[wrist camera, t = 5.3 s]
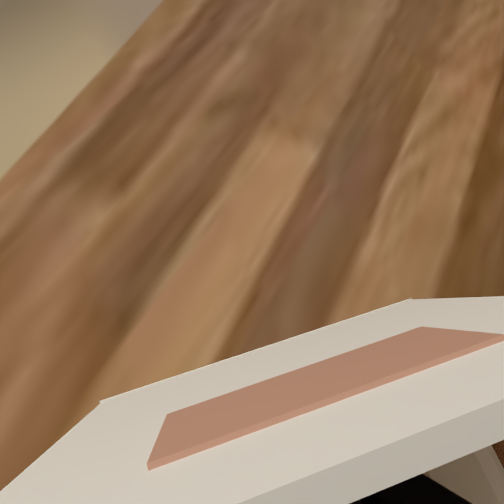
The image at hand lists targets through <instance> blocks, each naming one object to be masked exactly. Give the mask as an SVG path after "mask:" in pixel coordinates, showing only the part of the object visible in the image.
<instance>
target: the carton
mask: <svg viewBox="0 0 504 504" xmlns="http://www.w3.org/2000/svg"><path fill="white" fill-rule="evenodd" d="M410 300H412V298H410V299H407V300H404V301H401V302H398V303H395V304H392V305H389V306H386V307H383V308H380V309H377V310H374V311H371V312H368V313H365V314H362V315H359V316H356V317H353V318H350V319H347V320H344V321H341V322H338V323H335V324H332V325H329V326H325V327H322V328H319V329H316V330H313V331H310V332H307V333H304V334H301V335H298V336H295V337H292V338H289V339H286V340H283V341H280V342H277V343H274V344H271V345H268V346H265V347H262V348H259V349H256V350H253V351H250V352H247V353H244V354H241V355H238V356H235V357H231V358H228V359H225V360H222V361H219V362H216V363H213V364H210V365H207V366H204V367H201V368H198V369H195V370H192V371H189V372H186V373H183V374H180V375H177V376H174V377H171V378H168V379H165V380H162V381H159V382H156V383H153V384H150V385H147V386H144V387H141V388H137V389H134V390H131V391H128V392H125V393H122V394H119V395H116V396H113V397H110V398H107V399H104V400H101V401H99V402H100V404H101V403H102V402H104V401H107V400H110V399H113V398H116V397H119V396H122V395H126V394H129V393H132V392H135V391H138V390H141V389H144V388H147V387H150V386H153V385H156V384H159V383H162V382H165V381H168V380H171V379H174V378H177V377H180V376H183V375H186V374H189V373H192V372H195V371H198V370H201V369H204V368H207V367H210V366H213V365H216V364H219V363H222V362H225V361H228V360H231V359H234V358H237V357H240V356H243V355H246V354H250V353H253V352H256V351H259V350H262V349H265V348H268V347H271V346H274V345H277V344H280V343H283V342H286V341H289V340H292V339H295V338H298V337H301V336H304V335H307V334H310V333H313V332H316V331H319V330H322V329H325V328H328V327H331V326H334V325H337V324H340V323H343V322H346V321H349V320H352V319H355V318H358V317H361V316H364V315H367V314H370V313H374V312H377V311H380V310H383V309H386V308H389V307H392V306H395V305H398V304H401V303H404V302H407V301H410ZM423 474H424V475H426V476H428V477H429V478H431V479H433V480H434V481H436V482H438V483H439V484H441V485H443V486H444V487H446V488H448V489H449V490H451V491H452V492H454V493H456V494H457V495H459V496H461V497H462V498H464V499H466V500H467V501H469V502H471V503H472V504H504V468H503V466H502V464H501V462H500V460H499V459H498V457H497V455H496V453H495V451H494V449H493V447H492V445H490V446H487V447H485V448H483V449H480V450H478V451H475V452H473V453H470V454H468V455H466V456H463V457H461V458H458V459H456V460H454V461H451V462H449V463H446V464H444V465H441V466H439V467H437V468H434V469H432V470H429V471H427V472H425V473H423Z"/></svg>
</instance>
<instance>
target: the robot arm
mask: <svg viewBox="0 0 504 504" xmlns="http://www.w3.org/2000/svg"><path fill="white" fill-rule="evenodd" d="M350 504H472V503H471V502H469V501H467V500H466V499H464V498H462V497H461V496H459V495H457V494H456V493H454V492H452V491H451V490H449V489H448V488H446V487H444V486H443V485H441V484H439V483H438V482H436V481H434V480H433V479H431V478H429V477H428V476H426V475H424V474H423V473H422V474H420V475H417V476H415V477H413V478H410V479H408V480H405V481H403V482H400V483H398V484H396V485H393V486H391V487H388V488H386V489H384V490H381V491H379V492H376V493H374V494H371V495H369V496H367V497H364V498H362V499H359V500H357V501H355V502H352V503H350Z"/></svg>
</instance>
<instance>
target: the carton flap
mask: <svg viewBox="0 0 504 504" xmlns="http://www.w3.org/2000/svg"><path fill="white" fill-rule="evenodd" d="M502 440H504V296H498V297H469V298H441V299H413V300H410V301H407V302H404V303H401V304H398V305H395V306H392V307H389V308H386V309H383V310H380V311H377V312H374V313H370V314H367V315H364V316H361V317H358V318H355V319H352V320H349V321H346V322H343V323H340V324H337V325H334V326H331V327H328V328H325V329H322V330H319V331H316V332H313V333H310V334H307V335H304V336H301V337H298V338H295V339H292V340H289V341H286V342H283V343H280V344H277V345H274V346H271V347H268V348H265V349H262V350H259V351H256V352H253V353H250V354H246V355H243V356H240V357H237V358H234V359H231V360H228V361H225V362H222V363H219V364H216V365H213V366H210V367H207V368H204V369H201V370H198V371H195V372H192V373H189V374H186V375H183V376H180V377H177V378H174V379H171V380H168V381H165V382H162V383H159V384H156V385H153V386H150V387H147V388H144V389H141V390H138V391H135V392H132V393H129V394H126V395H122V396H119V397H116V398H113V399H110V400H107V401H104V402H102V403H101V404H99V405H98V406H97V407H96V408H95V409H94V410H93V411H91V412H90V413H89V414H88V415H87V416H86V417H85V418H83V419H82V420H81V421H80V422H79V423H78V424H77V425H75V426H74V427H73V428H72V429H71V430H70V431H69V432H67V433H66V434H65V435H64V436H63V437H62V438H61V439H59V440H58V441H57V442H56V443H55V444H54V445H53V446H52V447H50V448H49V449H48V450H47V451H46V452H45V453H44V454H42V455H41V456H40V457H39V458H38V459H37V460H36V461H34V462H33V463H32V464H31V465H30V466H29V467H28V468H26V469H25V470H24V471H23V472H22V473H21V474H20V475H18V476H17V477H16V478H15V479H14V480H13V481H12V482H10V483H9V484H8V485H7V486H6V487H5V488H4V489H2V490H1V491H0V504H350V503H352V502H355V501H357V500H359V499H362V498H364V497H367V496H369V495H371V494H374V493H376V492H379V491H381V490H384V489H386V488H388V487H391V486H393V485H396V484H398V483H400V482H403V481H405V480H408V479H410V478H413V477H415V476H417V475H420V474H422V473H425V472H427V471H429V470H432V469H434V468H437V467H439V466H441V465H444V464H446V463H449V462H451V461H454V460H456V459H458V458H461V457H463V456H466V455H468V454H470V453H473V452H475V451H478V450H480V449H483V448H485V447H487V446H490V445H492V444H495V443H497V442H499V441H502Z"/></svg>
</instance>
